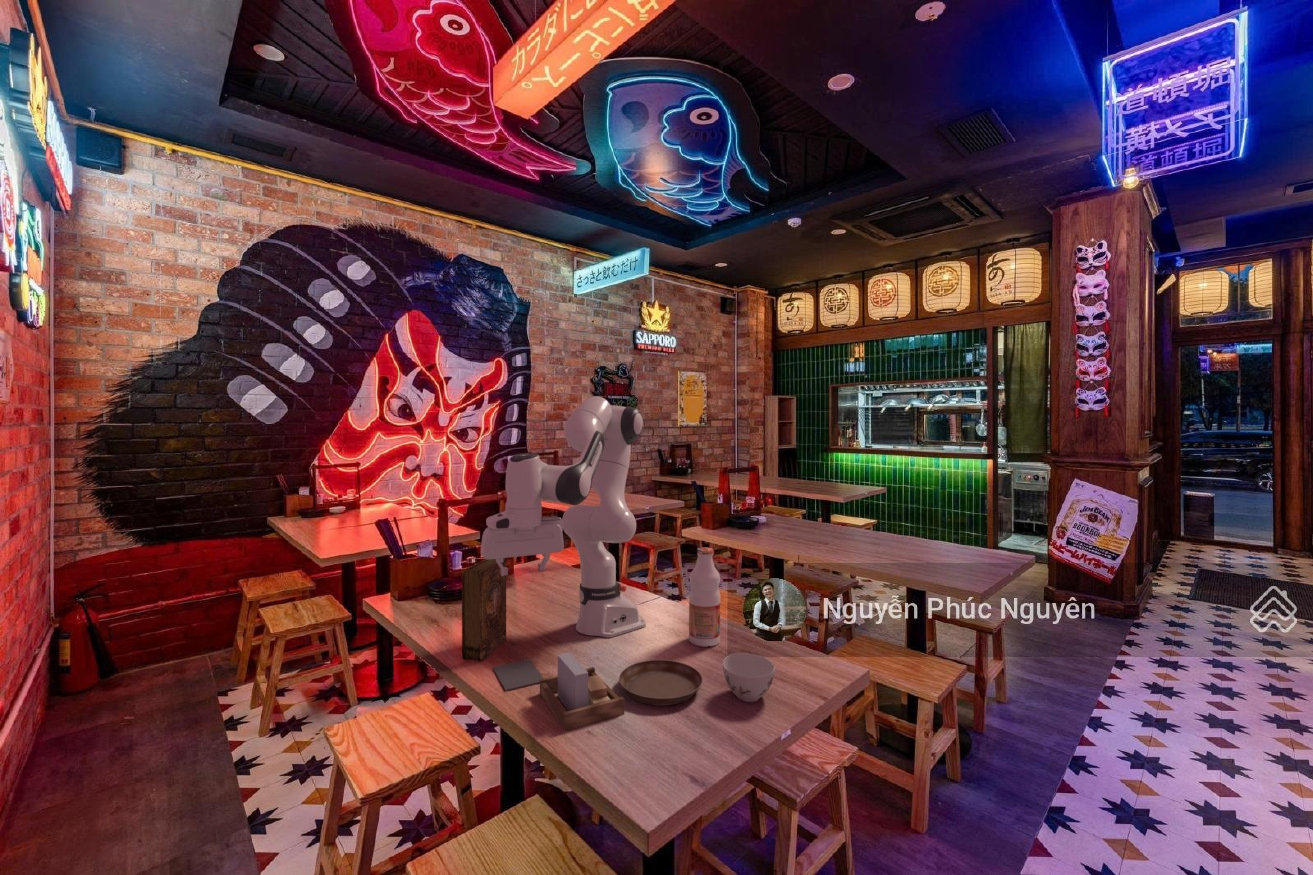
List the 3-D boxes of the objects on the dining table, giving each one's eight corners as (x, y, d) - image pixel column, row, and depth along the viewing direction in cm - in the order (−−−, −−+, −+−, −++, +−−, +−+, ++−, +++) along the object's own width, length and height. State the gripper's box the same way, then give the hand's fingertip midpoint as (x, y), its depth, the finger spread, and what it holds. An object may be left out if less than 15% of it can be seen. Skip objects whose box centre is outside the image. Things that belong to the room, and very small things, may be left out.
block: (569, 693, 132) (569, 652, 131) (588, 716, 121) (588, 672, 121) (557, 696, 130) (557, 655, 130) (575, 720, 120) (575, 675, 119)
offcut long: (594, 691, 134) (594, 681, 133) (610, 710, 125) (610, 699, 125) (579, 694, 132) (579, 684, 132) (594, 714, 123) (594, 703, 123)
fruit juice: (683, 638, 165) (683, 547, 164) (709, 633, 169) (710, 544, 168) (698, 649, 157) (699, 554, 156) (726, 644, 161) (727, 550, 160)
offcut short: (598, 682, 132) (598, 674, 132) (607, 696, 126) (607, 687, 126) (582, 686, 131) (582, 677, 131) (590, 699, 124) (590, 691, 124)
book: (491, 637, 165) (491, 556, 164) (508, 639, 163) (508, 557, 163) (461, 661, 149) (461, 571, 148) (480, 663, 147) (479, 572, 147)
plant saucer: (655, 663, 148) (655, 651, 148) (718, 687, 135) (718, 674, 135) (601, 692, 132) (601, 679, 132) (667, 722, 119) (668, 708, 119)
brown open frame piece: (593, 680, 138) (593, 666, 138) (624, 713, 122) (624, 698, 122) (539, 693, 131) (539, 679, 131) (565, 730, 115) (565, 714, 115)
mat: (529, 660, 149) (529, 659, 149) (545, 682, 137) (545, 680, 137) (492, 668, 144) (492, 666, 144) (505, 691, 132) (505, 689, 132)
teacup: (748, 715, 122) (748, 680, 122) (711, 693, 132) (711, 660, 132) (792, 696, 131) (792, 663, 130) (754, 676, 141) (755, 646, 140)
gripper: (559, 513, 143) (559, 565, 143) (479, 519, 133) (479, 574, 133) (567, 517, 137) (567, 571, 138) (484, 523, 128) (484, 581, 128)
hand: (523, 573), depth 135 cm, fingers open, 8 cm apart
